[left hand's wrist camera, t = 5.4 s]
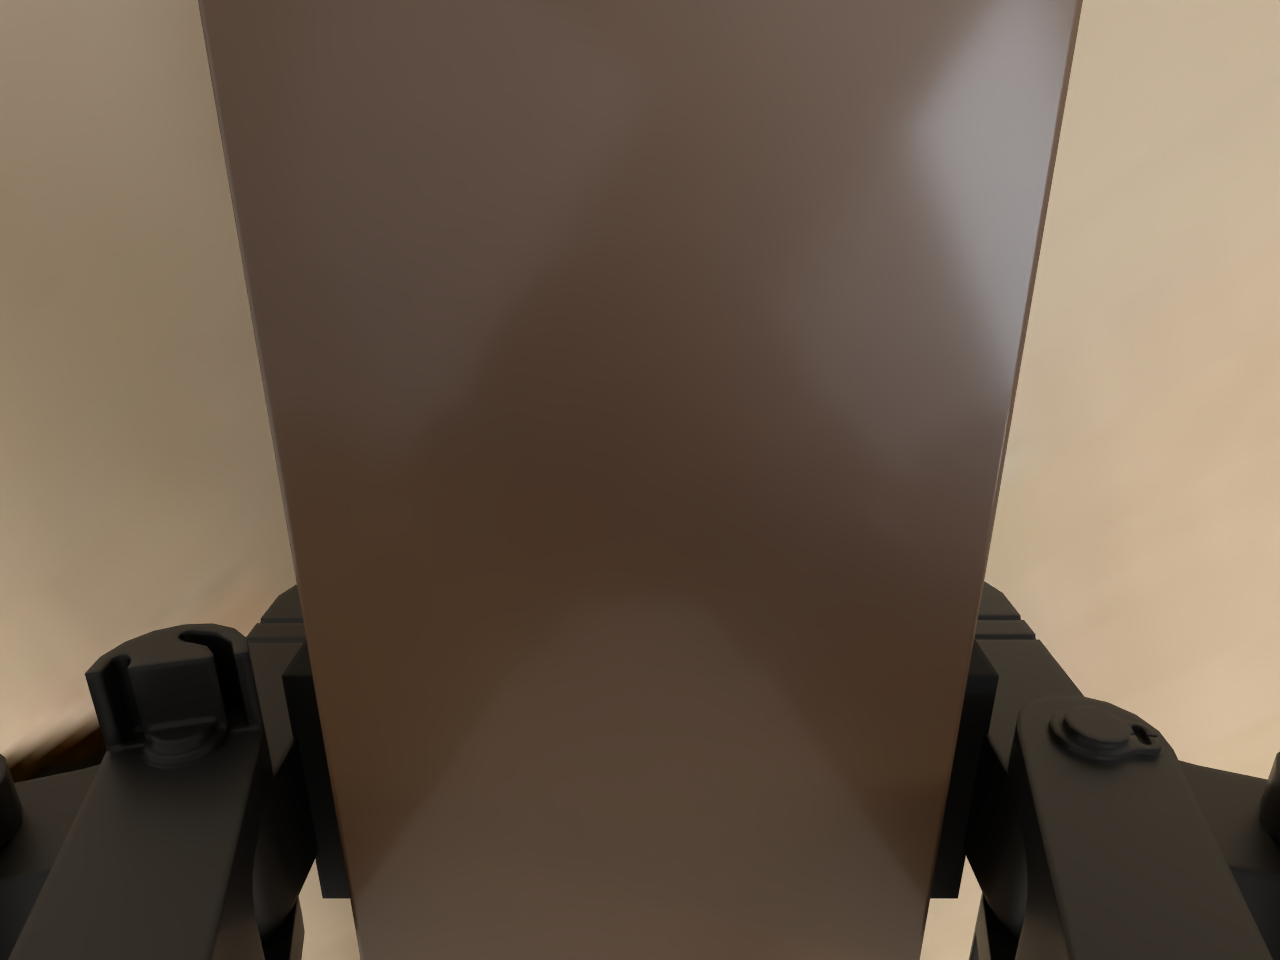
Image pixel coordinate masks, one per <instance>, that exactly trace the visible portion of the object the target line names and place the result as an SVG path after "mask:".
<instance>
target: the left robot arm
mask: <svg viewBox="0 0 1280 960" xmlns="http://www.w3.org/2000/svg"><path fill="white" fill-rule="evenodd" d="M85 676H86V680H87V683H88V686H89V690H90V693H91V697H92V700H93V704H94V707H95V711H96V714H97V718H98V721H99V725H100V728H101V732H102V735H103V739H104V742H105V746H106V749H107V752H106V754H105V756H104V758H103V760H102V762H101V764H100V765H97V766H93V767H90V768H86V769H82V770H77V771H72V772H67V773H62V774H57V775H52V776H48V777H43V778H38V779H33V780H28V781H23V782H18V783H14V782H13V779H12V776H11V773H10V770H9V767H8V764H7V761H6V759H5V757H4V756H2V755H1V754H0V960H301V958H302V949H303V941H304V925H303V918H302V912H301V907H300V902H299V897H298V896H299V893H300V891H301V889H302V887H303V884H304V882H305V880H306V878H307V875H308V873H309V871H310V869H311V867H312V864H313V862H314V860H315V859H316V864H317V870H318V875H319V880H320V886H321V891H322V896H323V898H350V893H349V887H348V881H347V875H346V870H345V864H344V858H343V852H342V846H341V840H340V834H339V828H338V822H337V817H336V811H335V805H334V799H333V793H332V787H331V781H330V775H329V769H328V763H327V758H326V752H325V746H324V740H323V734H322V728H321V722H320V716H319V710H318V705H317V699H316V693H315V687H314V681H313V675H312V669H311V663H310V657H309V651H308V646H307V640H306V634H305V628H304V622H303V616H302V610H301V604H300V598H299V593H298V587H297V585H295V586H293V587H292V588H290V589H289V590H287V591H285V592H284V593H282V594H281V595H279V596H278V597H277V599H276V600H275V601H274V602H273V604H272V605H271V606H270V608H269V609H268V610H267V611H266V613H265V614H264V615H263V616H262V618H261V623H257V624H256V625H255V627H254V628H253V629H252V631H251V632H250V633H249V634H248V636H247V637H245V636H243V635H242V634H241V633H240V632H238V631H237V630H236V629H234V628H230V627H226V626H221V625H217V624H185V625H180V626H175V627H170V628H166V629H161V630H156V631H153V632H150V633H147V634H145V635H142V636H139V637H137V638H134V639H132V640H129V641H126V642H124V643H123V644H121V645H119V646H118V647H116V648H114V649H113V650H111V651H109V652H108V653H106V654H104V655H103V656H101V657H100V658H99V659H98V660H97V661H96V662H95V663H94V664H93V665H92V667H91V668H90V669H89V670H88V671H87V672H86V673H85ZM966 856H967V859H968V861H969V863H970V865H971V867H972V870H973V872H974V874H975V876H976V878H977V881H978V883H979V885H980V887H981V890H982V897H981V902H980V907H979V912H978V917H977V922H976V927H975V932H974V937H973V942H972V947H971V952H970V957H969V960H1280V752H1279V753H1277V755H1276V758H1275V761H1274V764H1273V767H1272V770H1271V773H1270V775H1269V778H1268V780H1266V779H1262V778H1257V777H1252V776H1247V775H1242V774H1237V773H1232V772H1227V771H1222V770H1218V769H1213V768H1208V767H1203V766H1198V765H1194V764H1191V763H1187V762H1183V761H1179V760H1178V759H1177V756H1176V754H1175V752H1174V750H1173V749H1172V747H1171V746H1170V745H1169V744H1168V742H1167V741H1166V740H1165V738H1164V737H1163V736H1162V735H1161V733H1160V732H1159V731H1158V730H1156V729H1155V728H1154V727H1152V726H1151V725H1149V724H1148V723H1147V722H1145V721H1144V720H1142V719H1141V718H1140V717H1138V716H1137V715H1135V714H1133V713H1131V712H1128V711H1126V710H1124V709H1121V708H1119V707H1117V706H1115V705H1112V704H1110V703H1108V702H1104V701H1099V700H1095V699H1091V698H1087V697H1084V696H1083V694H1082V693H1081V692H1080V691H1079V689H1078V688H1077V687H1076V686H1075V684H1074V683H1073V682H1072V680H1071V679H1070V678H1069V677H1068V675H1067V674H1066V673H1065V672H1064V670H1063V669H1062V668H1061V666H1060V665H1059V664H1058V663H1057V661H1056V660H1055V659H1054V658H1053V656H1052V655H1051V654H1050V653H1049V651H1048V650H1047V649H1046V647H1045V646H1044V645H1043V644H1042V642H1041V641H1040V640H1036V638H1035V634H1034V632H1033V631H1032V630H1031V628H1030V627H1029V626H1028V625H1027V623H1026V622H1025V621H1024V620H1021V619H1020V614H1019V613H1018V612H1017V611H1016V609H1015V608H1014V607H1013V606H1012V604H1011V603H1010V602H1009V601H1008V599H1007V598H1006V597H1005V595H1004V594H1003V593H1002V592H1000V591H999V590H997V589H995V588H994V587H992V586H991V585H989V584H987V583H986V582H984V584H983V589H982V595H981V601H980V607H979V613H978V619H977V625H976V631H975V636H974V642H973V648H972V654H971V660H970V666H969V672H968V678H967V683H966V689H965V695H964V701H963V707H962V713H961V719H960V725H959V731H958V736H957V742H956V748H955V754H954V760H953V766H952V772H951V778H950V783H949V789H948V795H947V801H946V807H945V813H944V819H943V825H942V831H941V836H940V842H939V848H938V854H937V860H936V866H935V872H934V878H933V883H932V889H931V895H930V898H958V894H959V889H960V884H961V878H962V873H963V867H964V862H965V857H966Z"/></svg>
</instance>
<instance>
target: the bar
mask: <svg viewBox="0 0 1280 960" xmlns="http://www.w3.org/2000/svg"><path fill="white" fill-rule="evenodd" d="M1082 1H1083V0H198V3H199V9H200V15H201V21H202V27H203V33H204V38H205V44H206V50H207V56H208V62H209V68H210V74H211V80H212V86H213V91H214V97H215V103H216V109H217V115H218V121H219V127H220V133H221V139H222V145H223V150H224V156H225V162H226V168H227V174H228V180H229V186H230V192H231V198H232V203H233V209H234V215H235V221H236V227H237V233H238V239H239V245H240V251H241V257H242V262H243V268H244V274H245V280H246V286H247V292H248V298H249V304H250V310H251V315H252V321H253V327H254V333H255V339H256V345H257V351H258V357H259V363H260V369H261V374H262V380H263V386H264V392H265V398H266V404H267V410H268V416H269V422H270V427H271V433H272V439H273V445H274V451H275V457H276V463H277V469H278V475H279V481H280V486H281V492H282V498H283V504H284V510H285V516H286V522H287V528H288V534H289V539H290V545H291V551H292V557H293V563H294V569H295V575H296V581H297V587H298V593H299V598H300V604H301V610H302V616H303V622H304V628H305V634H306V640H307V646H308V651H309V657H310V663H311V669H312V675H313V681H314V687H315V693H316V699H317V705H318V710H319V716H320V722H321V728H322V734H323V740H324V746H325V752H326V758H327V763H328V769H329V775H330V781H331V787H332V793H333V799H334V805H335V811H336V817H337V822H338V828H339V834H340V840H341V846H342V852H343V858H344V864H345V870H346V875H347V881H348V887H349V893H350V899H351V905H352V911H353V917H354V923H355V929H356V934H357V940H358V946H359V952H360V958H361V960H920V954H921V948H922V942H923V936H924V931H925V925H926V919H927V913H928V907H929V901H930V895H931V889H932V883H933V878H934V872H935V866H936V860H937V854H938V848H939V842H940V836H941V831H942V825H943V819H944V813H945V807H946V801H947V795H948V789H949V783H950V778H951V772H952V766H953V760H954V754H955V748H956V742H957V736H958V731H959V725H960V719H961V713H962V707H963V701H964V695H965V689H966V683H967V678H968V672H969V666H970V660H971V654H972V648H973V642H974V636H975V631H976V625H977V619H978V613H979V607H980V601H981V595H982V589H983V584H984V578H985V572H986V566H987V560H988V554H989V548H990V542H991V536H992V531H993V525H994V519H995V513H996V507H997V501H998V495H999V489H1000V484H1001V478H1002V472H1003V466H1004V460H1005V454H1006V448H1007V442H1008V436H1009V431H1010V425H1011V419H1012V413H1013V407H1014V401H1015V395H1016V389H1017V384H1018V378H1019V372H1020V366H1021V360H1022V354H1023V348H1024V342H1025V336H1026V331H1027V325H1028V319H1029V313H1030V307H1031V301H1032V295H1033V289H1034V284H1035V278H1036V272H1037V266H1038V260H1039V254H1040V248H1041V242H1042V236H1043V231H1044V225H1045V219H1046V213H1047V207H1048V201H1049V195H1050V189H1051V184H1052V178H1053V172H1054V166H1055V160H1056V154H1057V148H1058V142H1059V136H1060V131H1061V125H1062V119H1063V113H1064V107H1065V101H1066V95H1067V89H1068V84H1069V78H1070V72H1071V66H1072V60H1073V54H1074V48H1075V42H1076V36H1077V31H1078V25H1079V19H1080V13H1081V7H1082Z"/></svg>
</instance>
